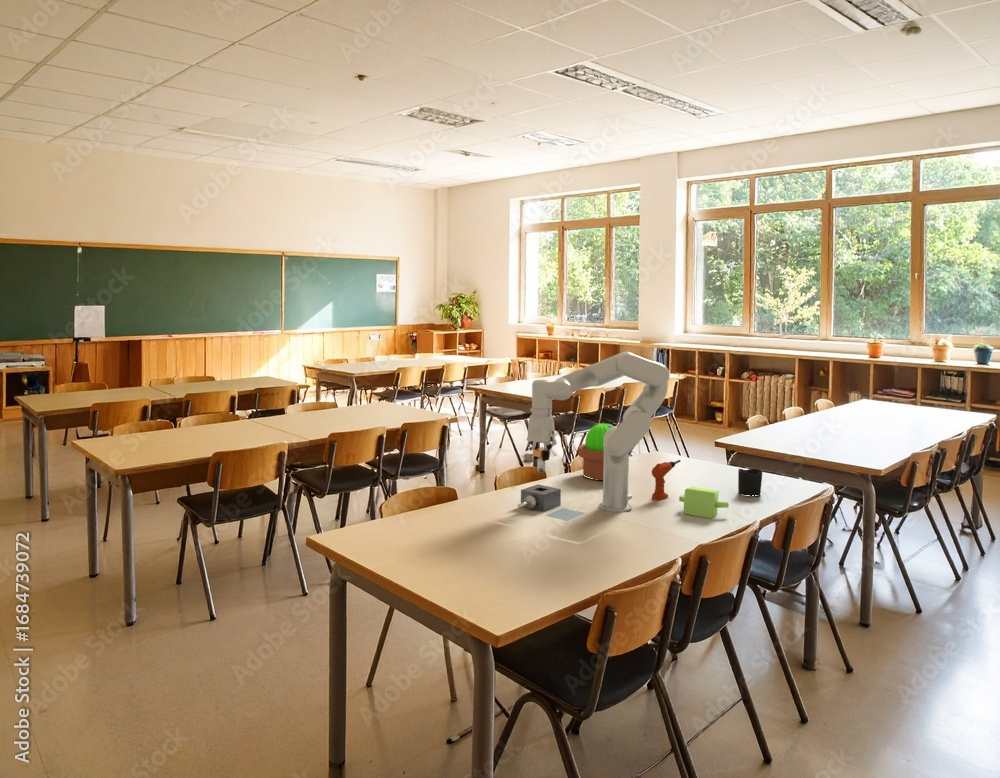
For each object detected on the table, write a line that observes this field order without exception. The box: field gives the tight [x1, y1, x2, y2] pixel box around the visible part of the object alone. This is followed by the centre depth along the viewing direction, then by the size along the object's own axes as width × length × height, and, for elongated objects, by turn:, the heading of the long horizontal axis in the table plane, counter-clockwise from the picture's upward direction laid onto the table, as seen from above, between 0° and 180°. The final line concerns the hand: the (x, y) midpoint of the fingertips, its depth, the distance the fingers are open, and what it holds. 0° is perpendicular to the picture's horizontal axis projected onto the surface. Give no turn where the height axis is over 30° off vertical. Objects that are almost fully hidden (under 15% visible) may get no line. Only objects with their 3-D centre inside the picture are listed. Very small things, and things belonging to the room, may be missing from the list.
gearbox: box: [678, 485, 729, 519], centre depth 278 cm, size 18×10×10 cm, turn 59°
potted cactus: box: [577, 422, 615, 480], centre depth 332 cm, size 22×22×25 cm
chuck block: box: [517, 483, 562, 513], centre depth 282 cm, size 19×11×7 cm, turn 141°
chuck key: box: [532, 446, 551, 473], centre depth 283 cm, size 6×4×9 cm, turn 141°
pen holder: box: [737, 468, 763, 496], centre depth 305 cm, size 9×9×10 cm
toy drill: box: [651, 459, 682, 501], centre depth 302 cm, size 5×19×15 cm, turn 132°
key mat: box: [545, 508, 586, 521], centre depth 275 cm, size 12×10×1 cm
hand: (541, 458), depth 283 cm, fingers closed on chuck key, 3 cm apart
